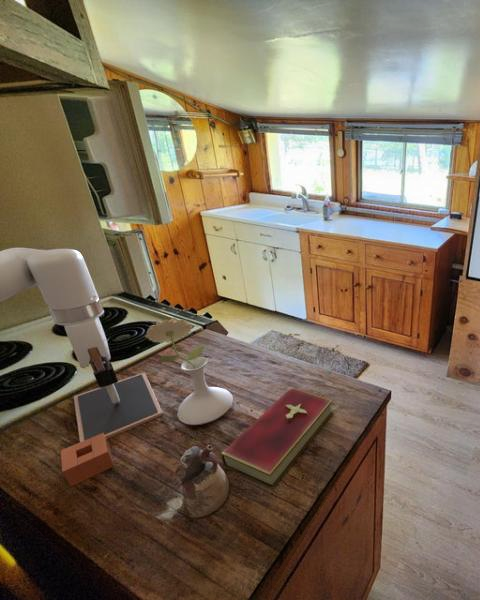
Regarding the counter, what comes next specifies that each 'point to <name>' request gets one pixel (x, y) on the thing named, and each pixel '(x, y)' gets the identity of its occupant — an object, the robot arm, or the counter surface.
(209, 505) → the figurine
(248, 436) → the hardcover book
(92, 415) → the framed chalkboard
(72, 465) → the block
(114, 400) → the light grey square peg
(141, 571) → the counter surface
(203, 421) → the flower in vase
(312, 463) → the counter surface
